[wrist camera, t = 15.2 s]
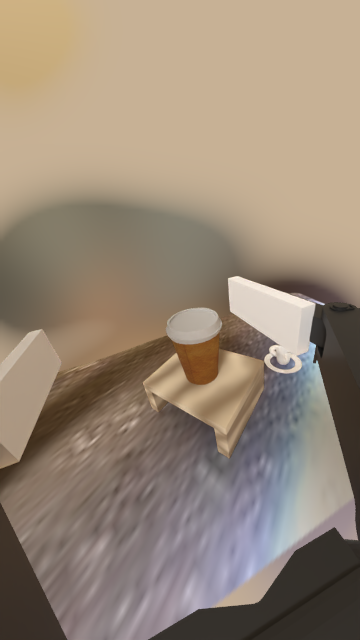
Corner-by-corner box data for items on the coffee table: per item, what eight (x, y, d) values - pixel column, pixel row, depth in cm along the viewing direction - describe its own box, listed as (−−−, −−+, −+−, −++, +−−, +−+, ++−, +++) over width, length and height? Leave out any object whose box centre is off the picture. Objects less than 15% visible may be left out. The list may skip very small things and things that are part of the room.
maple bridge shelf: (152, 408, 41) (142, 382, 38) (194, 363, 52) (189, 340, 48) (229, 458, 30) (225, 428, 27) (263, 388, 40) (263, 360, 37)
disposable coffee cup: (203, 351, 43) (195, 302, 38) (237, 372, 36) (233, 314, 31) (168, 373, 39) (154, 322, 34) (199, 402, 31) (187, 341, 26)
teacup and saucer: (268, 348, 52) (268, 336, 50) (302, 354, 48) (304, 340, 46) (261, 369, 46) (261, 356, 44) (300, 378, 41) (302, 364, 40)
